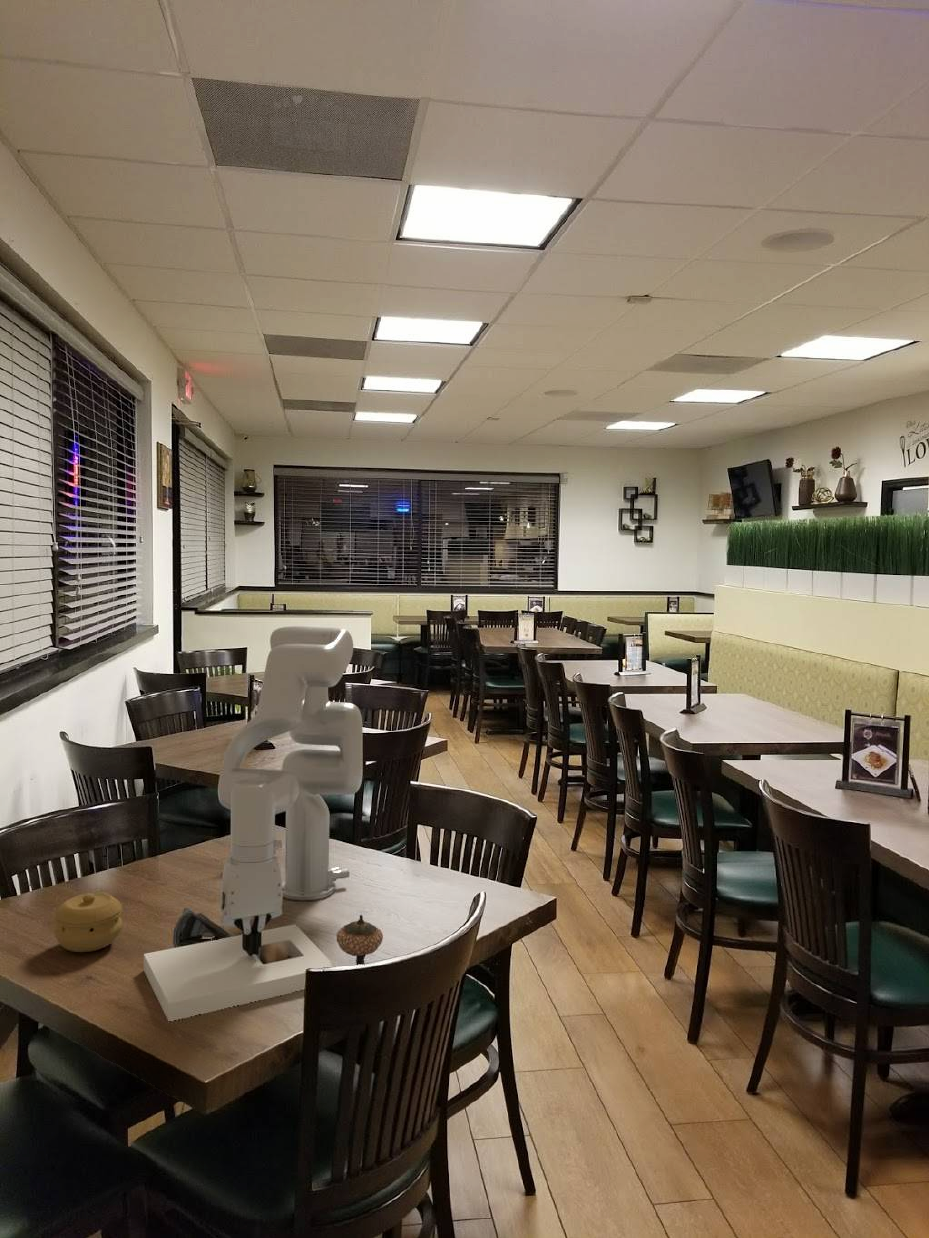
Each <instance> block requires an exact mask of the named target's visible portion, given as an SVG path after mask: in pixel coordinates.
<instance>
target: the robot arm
mask: <svg viewBox="0 0 929 1238" xmlns="http://www.w3.org/2000/svg"><path fill="white" fill-rule="evenodd" d="M269 639H270V640H269V643H270V652H268V656H267V659H266V663H265V668H264V675H263V679H262V686H261V690H260V695H259V699H258V705H257V710H256V714H255V716H253V717H252V718H251V720H249V721H248V722H246V724H244V725H243V726H242V727H241V728H240V730H239V731H237V733H236V734H235V735H234V736H233V738H232V739H231V741H230V742H229V743H228V745H227V747H226V750H225V751H224V755H223V759H222V763H221V767H220V768H221V769H220V773H219V778H218V784H217V795H218V800H219V803H220V804H221V805H222V806H223V807H224V808H226V809H228V810H230V809H231V810H230V857H227V858H226V859H225V861H224V865H223V870H222V871H223V872H222V878H221V887H220V900H219V902H220V903H219V905H220V910H221V912H222V915H221V917H220V923H221V924H222V926H223V927H224V926H225V927H236V928H237V929H239V930H240V931H241V932H242V934H241V935H242V948H243V950H244V951H246V952H247V954H248V955H249V956H253V955H259V947H261V939H262V931H264V930H265V927H266V926H267V925H268V923H269V922H270V921H271V920H272V919H275V918H277V917H280V916H281V915H282V914H283V909H282V907H283V899H284V898H285V899H288V900H292V901H314V900H320V899H323V898H327V897H329V896H331V895H333V893H335V892H336V881H337V880H339V879H347V878H350V871H349V869H348V868H345V869H340V868H339V867H333V868H331V867H330V865H329V864H330V863H329V861H330V857H329V856H330V811H329V807H328V805H327V803H326V802H325V800H324V799H323V797H322V796H321V795H338V796H339V795H341V796H343V795H348V796H349V795H353V794H356V793H357V792H358V791H359V790H360V788H361V785H362V781H363V767H364V766H363V762H364V761H363V747H364V746H363V742H364V741H363V740H364V739H363V737H364V736H363V732H364V731H363V730H364V729H363V717H362V713H361V710H360V709H359V707H358V706H357V705H356V704H354V703H352V702H351V703H350V702H346V701H345V702H343V701H331V700H330V699H329V688H332V687H335V686H336V685H337V684H338V683H339V682H340V680H341V679H342V677H343V675H344V674H345V672H346V670H347V668H348V667H349V665H350V663H351V660H352V657H353V655H354V654H353V653H354V641H353V640H354V639H353V637H352V635H351V633H350V632H349V631H348V630H347V629H345V628H341V627H340V628H339V627H318V626H317V627H316V626H315V627H314V626H297V625H296V626H283V627H279V628H276V629H274V630H273V631H272V633H271V635H270V638H269ZM288 732H289V735H290V738H291V741H293V742H295V743H297V744H301V745H309V746H312V745H313V746H329V747H330V746H332V747H333V746H335V747H338V749H339V750H329V749H313V748H304V749H296V750H293V751H291V752H289V753H288V754H286V756H285V757H284V758H283V761H282V763H281V764H282V766H281V770H280V769H265V768H264V769H263V768H262V769H261V768H242V766H243V763H244V760H245V759H246V757H247V756H248V754H249V753H250V752H251V751H252V750H253V749H254V748H256V747H257V746H258V745H260V744H262V743H264V742H266V741H268V740H271V739H273V738H275V737H277V736H280V735H283V734H286V733H288ZM284 812H285V855H284V857H285V861H284V862H285V865H284V867H285V869H284V870H285V872H284V873H285V876H284V877H285V878H284V880H282V871H281V866H280V861H279V856H278V855H277V853H276V852H277V850H279V849H282V848H283V841H282V839H276V838H275V837H276V836H275V835H276V832H275V831H276V830H275V828H276V826H275V825H276V822H275V821H276V815H278V814H281V813H284ZM252 917H253V921H252V925H251V923H250V922H251V921H250V918H252Z"/></svg>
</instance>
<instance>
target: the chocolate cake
mask: <svg viewBox="0 0 929 1238" xmlns="http://www.w3.org/2000/svg"><path fill="white" fill-rule="evenodd" d="M190 936H191V937H190ZM198 936H204V937H213V936H216V937H218V939H219V938H220V939H223V938H228V937H233V935H232V934H231V933H229V932H228V931H227V930H226V929H225V928H224V926H223V925H218V924H217V923H215V922H214V921H213V920H211V917H210V916H208V915H206V914H204V913H202V912H199V913H196V912H194V910H191V909H190V908H187V907H185V908H184V909H183V911H182V915H181V916H180V918H179V919H178V920H177V922H176V924H175V927H174V930H173V936H172V943H173V948H177V947H182V946H187V945H192V944H197V943H203V942H208V941H213V939H214V938H213V939H212V940H211V939H191V938H192V937H198ZM189 937H190V938H189Z"/></svg>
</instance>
